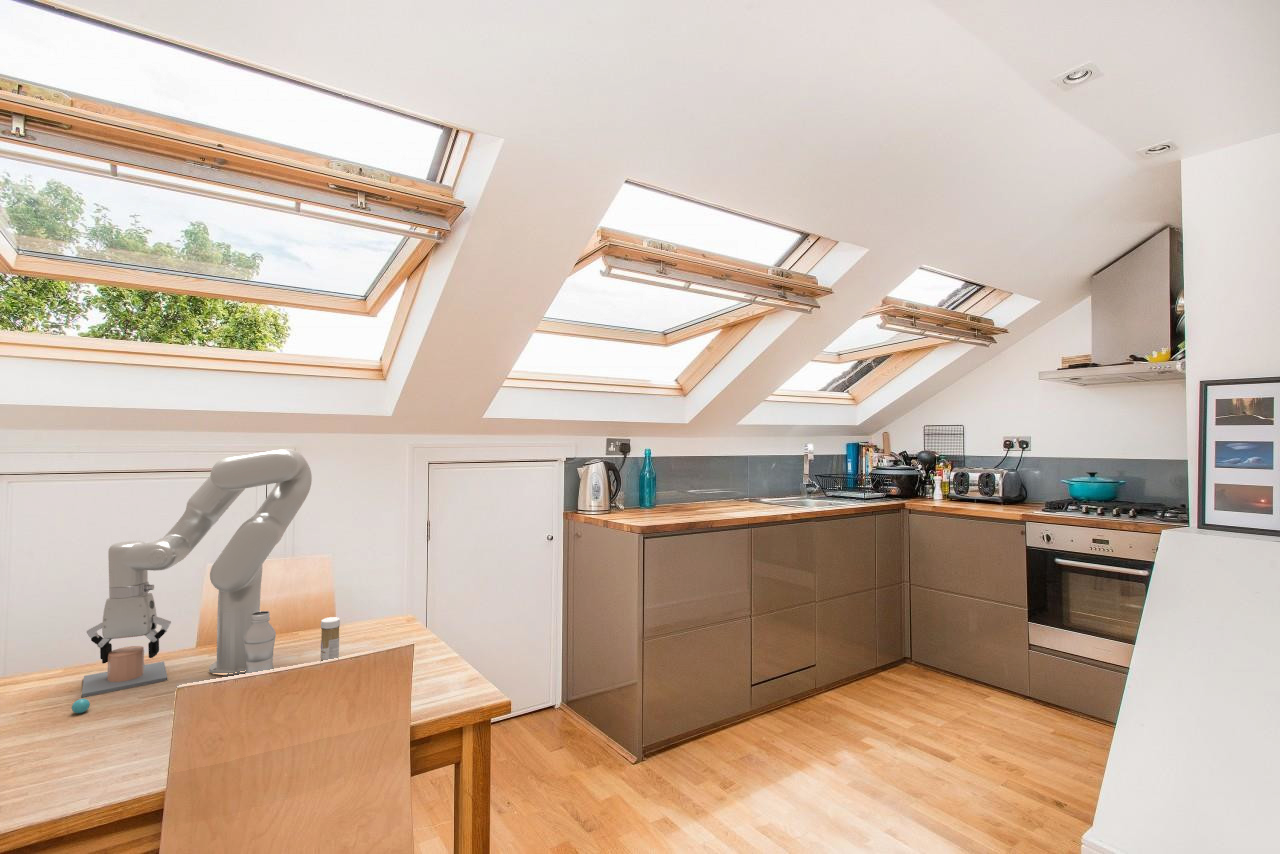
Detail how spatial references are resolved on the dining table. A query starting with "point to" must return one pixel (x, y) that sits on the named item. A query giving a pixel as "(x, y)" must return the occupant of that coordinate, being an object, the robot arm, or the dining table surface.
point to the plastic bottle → (259, 643)
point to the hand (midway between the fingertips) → (130, 658)
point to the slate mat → (101, 685)
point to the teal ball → (80, 706)
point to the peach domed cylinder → (125, 663)
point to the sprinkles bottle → (330, 638)
